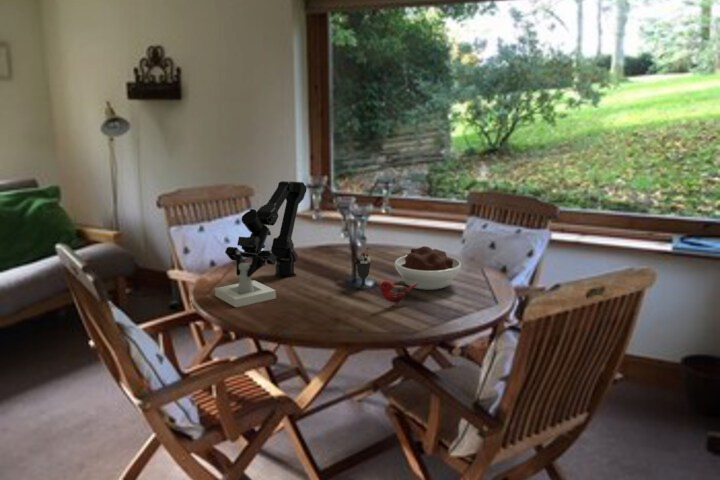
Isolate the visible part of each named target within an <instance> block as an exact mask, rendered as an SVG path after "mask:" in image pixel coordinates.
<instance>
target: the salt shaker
mask: <svg viewBox="0 0 720 480" xmlns="http://www.w3.org/2000/svg"><path fill="white" fill-rule="evenodd" d="M250 266H251V263H250V262H247V261H245V262H242V263H240V264H239V270H241V271H240V275H239V280H238V283H239V286H238V294H239V295H241V294H246V293H251V292H254V288H253V284H252V281H253V280H252V275H251V276H250V277H248V276H247V274H248V271H249V269H250Z"/></svg>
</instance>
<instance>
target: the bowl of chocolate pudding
mask: <svg viewBox="0 0 720 480" xmlns="http://www.w3.org/2000/svg"><path fill="white" fill-rule="evenodd" d="M394 268H395V270H396V271H397V273H398V274H399V275H400V276H401V278H402V280H403V283H404V284H405V285H406V286H407V287H410V286H413V285H415V284H418V285H416V286H415V287H414V288H413V289H417V290H428V291H429V290H431V291H432V290H441V289H444V288H446V287H448V286H450V285H451V283H452V281H453V279H454V278H455V277H456V276H457V275H458V274H459V273H460V270H461V268H462V264H461V261H460V260H459V259H457V258H454V257H451V256H448V255H447V253H446V251H443V250H440V249H436V248H434V249H432V248H431V247H429V246H425V245H424V246H421V247H418V248H411V249H410V252H409V253H408V254H407V255H404V256H401V257H398V258H397V259H396V260H395V261H394Z"/></svg>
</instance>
